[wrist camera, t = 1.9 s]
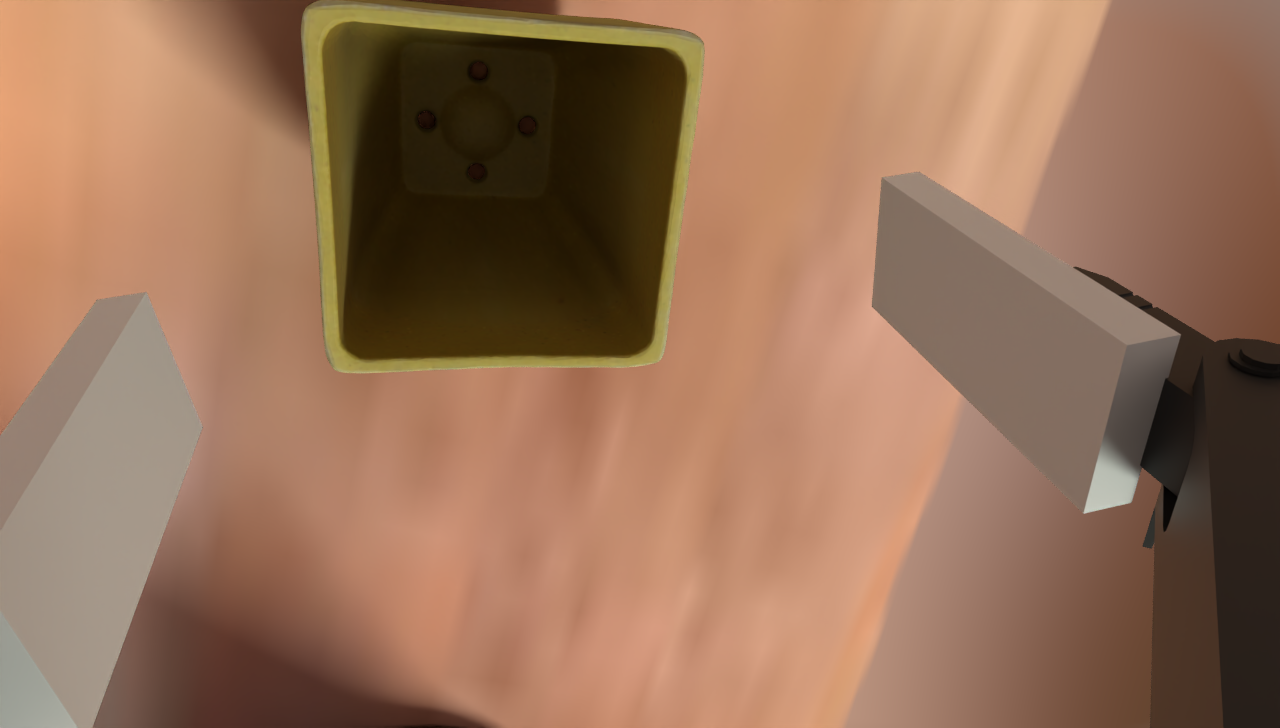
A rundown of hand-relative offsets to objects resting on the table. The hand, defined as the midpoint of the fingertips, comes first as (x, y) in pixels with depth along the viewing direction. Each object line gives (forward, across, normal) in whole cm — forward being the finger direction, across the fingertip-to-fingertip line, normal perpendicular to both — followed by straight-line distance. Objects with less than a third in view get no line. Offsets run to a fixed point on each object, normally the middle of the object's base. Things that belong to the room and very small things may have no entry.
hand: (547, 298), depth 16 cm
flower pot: (+15, 0, 0) cm, 15 cm away
